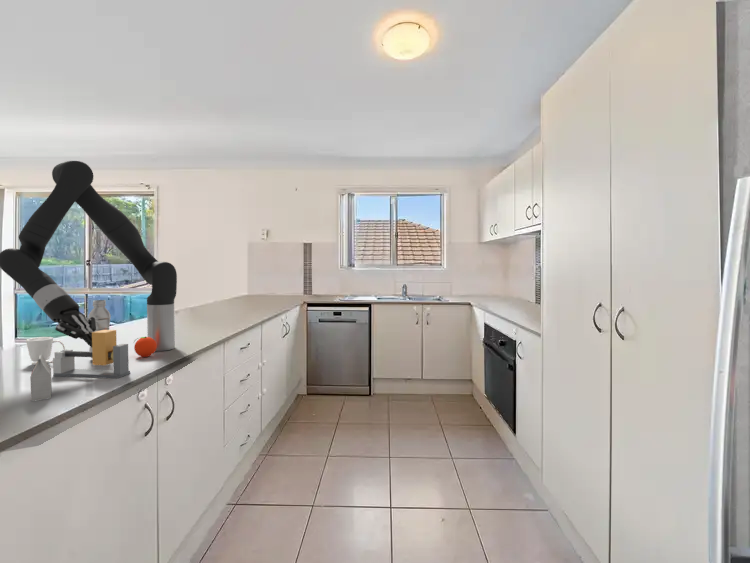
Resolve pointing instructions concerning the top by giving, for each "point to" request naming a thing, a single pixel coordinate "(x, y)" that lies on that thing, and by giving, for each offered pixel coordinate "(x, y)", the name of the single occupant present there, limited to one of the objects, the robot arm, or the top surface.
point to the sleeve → (103, 346)
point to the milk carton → (41, 380)
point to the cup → (40, 348)
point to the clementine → (145, 346)
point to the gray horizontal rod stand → (66, 367)
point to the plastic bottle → (100, 316)
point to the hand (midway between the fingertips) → (96, 345)
